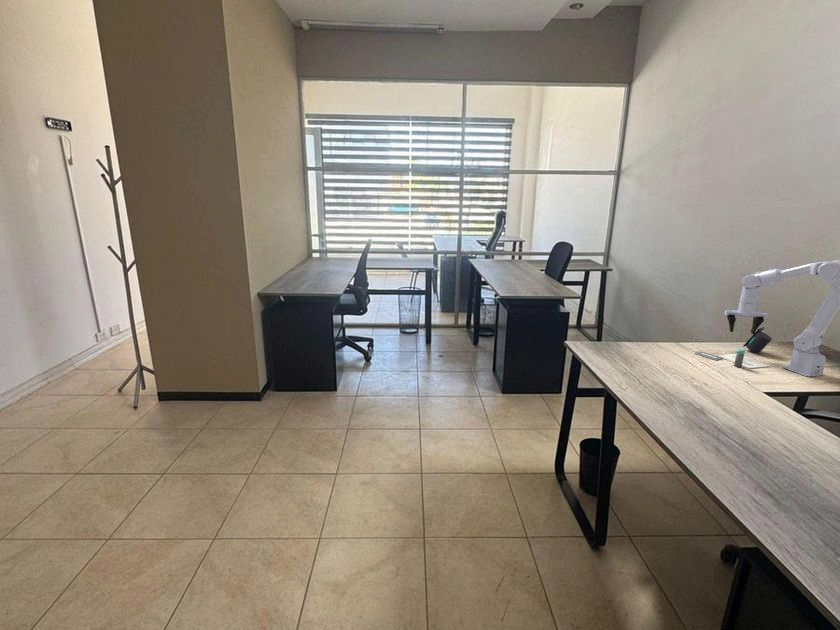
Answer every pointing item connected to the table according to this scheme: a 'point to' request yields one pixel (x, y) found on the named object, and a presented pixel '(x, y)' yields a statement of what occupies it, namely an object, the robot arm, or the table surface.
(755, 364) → the paper
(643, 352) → the table surface
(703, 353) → the plate
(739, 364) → the marker
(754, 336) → the speaker
